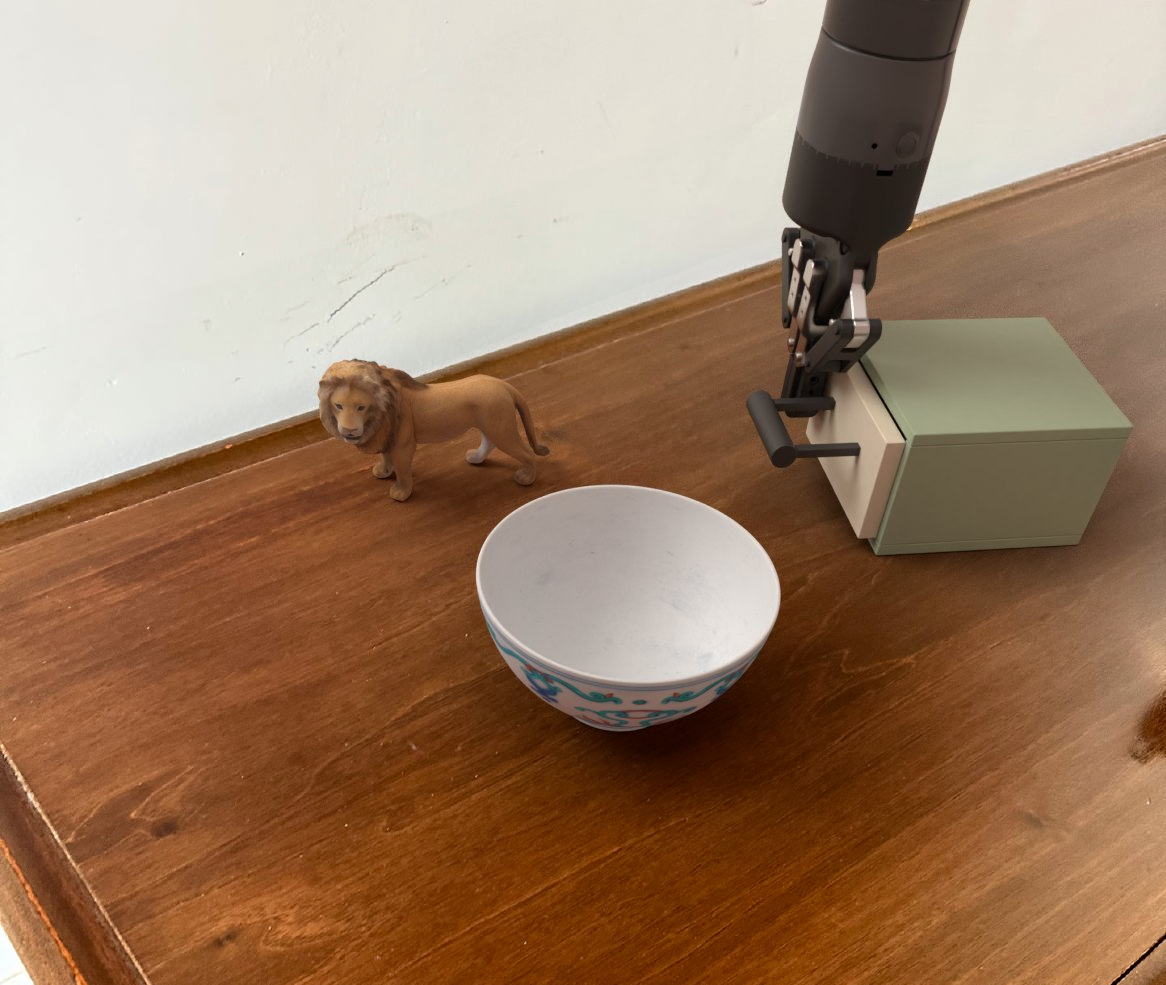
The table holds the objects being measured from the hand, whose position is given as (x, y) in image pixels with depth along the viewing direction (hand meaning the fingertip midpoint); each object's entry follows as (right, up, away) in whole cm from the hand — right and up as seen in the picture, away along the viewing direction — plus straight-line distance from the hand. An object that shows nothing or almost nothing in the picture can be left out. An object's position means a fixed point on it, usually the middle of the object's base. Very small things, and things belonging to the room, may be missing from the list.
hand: (797, 411), depth 78 cm
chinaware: (-12, -19, -13) cm, 26 cm away
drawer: (+5, -5, -1) cm, 7 cm away
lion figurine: (-23, -5, -2) cm, 24 cm away
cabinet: (+10, -5, +1) cm, 11 cm away
